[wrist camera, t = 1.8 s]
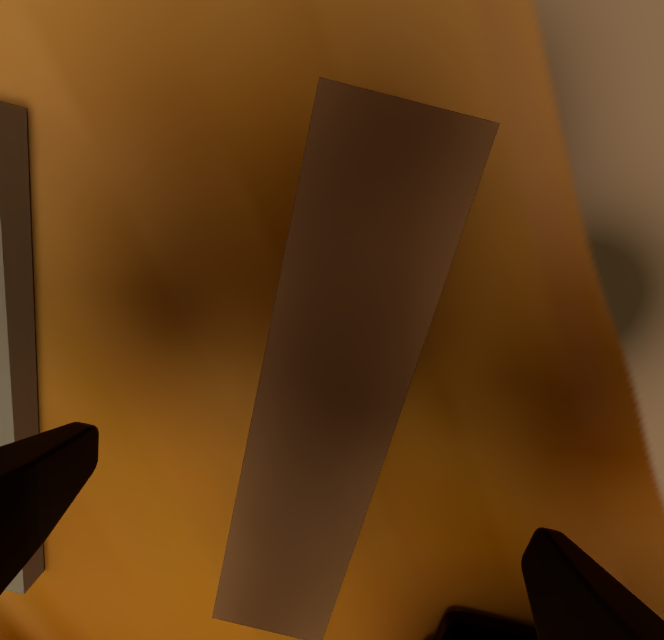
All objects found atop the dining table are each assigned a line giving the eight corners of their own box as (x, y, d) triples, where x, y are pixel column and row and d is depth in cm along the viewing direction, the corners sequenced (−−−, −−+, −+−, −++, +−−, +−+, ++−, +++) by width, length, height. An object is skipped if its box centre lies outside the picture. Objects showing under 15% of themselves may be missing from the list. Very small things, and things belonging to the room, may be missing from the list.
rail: (453, 148, 10) (499, 123, 7) (329, 545, 15) (321, 644, 12) (331, 118, 10) (319, 77, 7) (244, 525, 15) (212, 618, 12)
